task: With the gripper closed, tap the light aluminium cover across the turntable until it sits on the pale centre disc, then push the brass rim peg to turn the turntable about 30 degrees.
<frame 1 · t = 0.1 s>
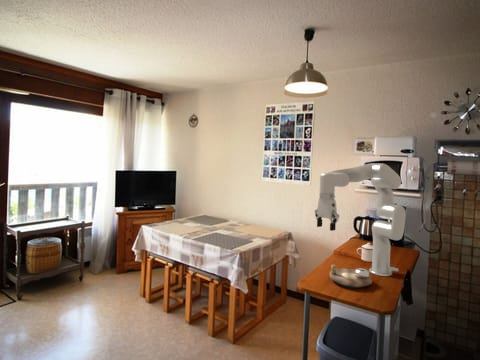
hand: (325, 228, 155), 31 cm above the kitchen counter, tool pointing down, fingers open, 9 cm apart
teacup with lid: (365, 259, 201), on the kitchen counter
turntable: (350, 272, 162), point 5 cm above the kitchen counter, hinge at 0.0°, touching cover
cover: (361, 276, 161), point 4 cm above the kitchen counter, touching turntable
turntable base: (350, 281, 162), on the kitchen counter
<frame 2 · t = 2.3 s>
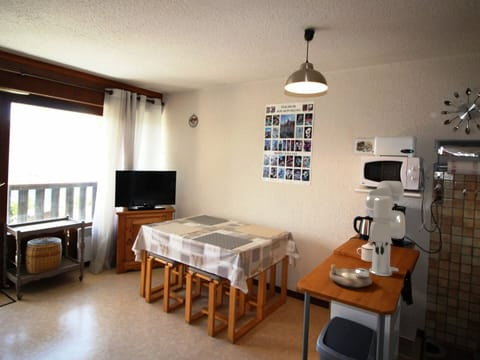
hand: (379, 253, 158), 17 cm above the kitchen counter, tool pointing down, fingers closed
nothing on the kitchen counter moved.
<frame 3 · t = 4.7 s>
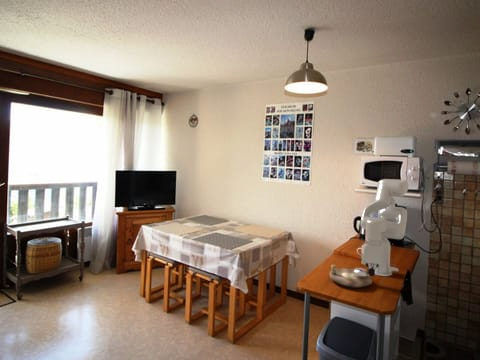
hand: (371, 275, 159), 5 cm above the kitchen counter, tool pointing down, fingers closed
nothing on the kitchen counter moved.
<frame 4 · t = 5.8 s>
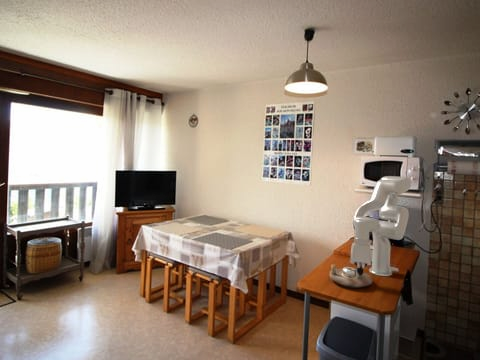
hand: (360, 274, 161), 5 cm above the kitchen counter, tool pointing down, fingers closed
turntable: (350, 272, 162), point 5 cm above the kitchen counter, hinge at 0.0°
cover: (349, 275, 162), point 4 cm above the kitchen counter, touching gripper
everything else where it was.
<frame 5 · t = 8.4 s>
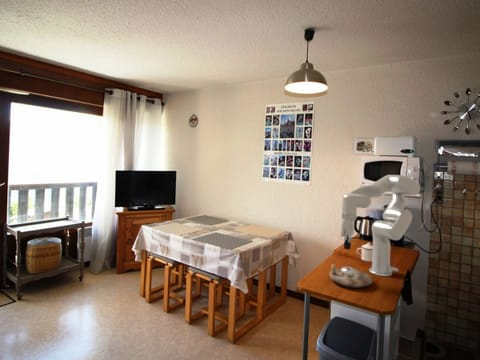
hand: (347, 248, 165), 18 cm above the kitchen counter, tool pointing down, fingers closed
turntable: (350, 272, 162), point 5 cm above the kitchen counter, hinge at 0.0°, touching cover
cover: (347, 275, 163), point 4 cm above the kitchen counter, touching turntable
everything else where it was.
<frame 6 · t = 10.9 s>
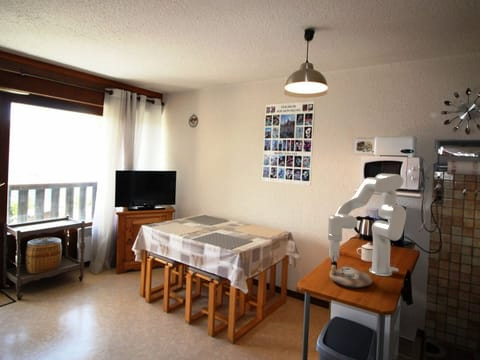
hand: (334, 268, 167), 6 cm above the kitchen counter, tool pointing down, fingers closed
turntable: (350, 272, 162), point 5 cm above the kitchen counter, hinge at 4.1°, touching cover, gripper
everything else where it was.
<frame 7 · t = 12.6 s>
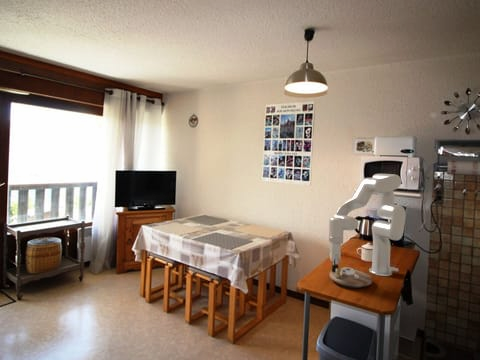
hand: (335, 271, 162), 5 cm above the kitchen counter, tool pointing down, fingers closed
turntable: (350, 272, 162), point 5 cm above the kitchen counter, hinge at 37.0°, touching cover
everything else where it was.
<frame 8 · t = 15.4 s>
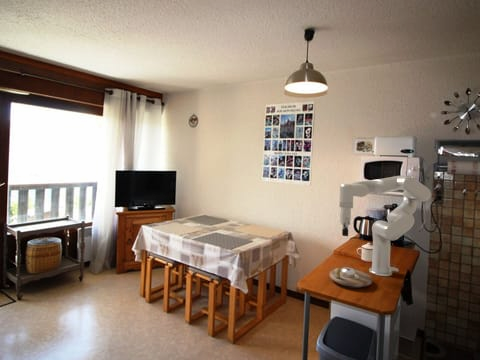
hand: (345, 235, 173), 23 cm above the kitchen counter, tool pointing down, fingers closed
nothing on the kitchen counter moved.
at the end: cover 1.3 cm from the turntable (horizontally); turntable at +37° (first picture: +0°); cover tilted 0° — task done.
